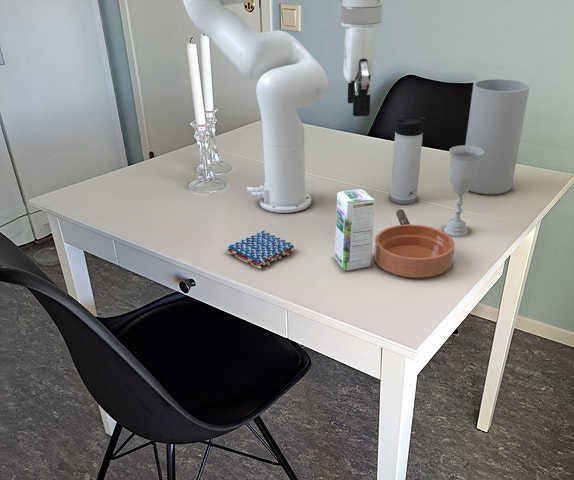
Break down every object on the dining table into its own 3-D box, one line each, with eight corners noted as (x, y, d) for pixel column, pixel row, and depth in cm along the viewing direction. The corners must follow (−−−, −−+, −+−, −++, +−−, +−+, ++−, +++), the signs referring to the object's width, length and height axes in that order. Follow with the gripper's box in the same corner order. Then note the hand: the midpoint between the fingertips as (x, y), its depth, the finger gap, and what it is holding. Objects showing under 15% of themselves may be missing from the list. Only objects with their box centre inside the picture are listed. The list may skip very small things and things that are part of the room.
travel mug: (417, 205, 145) (425, 122, 134) (389, 203, 146) (395, 121, 135) (418, 195, 150) (425, 114, 140) (391, 194, 151) (396, 113, 141)
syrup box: (333, 258, 123) (335, 191, 115) (360, 254, 124) (363, 187, 117) (344, 271, 118) (346, 202, 111) (372, 266, 120) (376, 198, 112)
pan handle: (411, 232, 126) (411, 225, 125) (402, 233, 126) (403, 225, 125) (403, 215, 134) (404, 207, 133) (395, 215, 134) (395, 208, 133)
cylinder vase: (489, 199, 146) (507, 94, 134) (449, 185, 155) (462, 84, 142) (521, 187, 153) (541, 85, 140) (481, 173, 161) (496, 76, 148)
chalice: (449, 221, 137) (459, 143, 127) (477, 229, 133) (489, 149, 124) (433, 232, 132) (442, 152, 123) (462, 241, 128) (474, 159, 119)
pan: (380, 281, 115) (381, 260, 112) (369, 244, 128) (370, 225, 125) (460, 279, 115) (463, 258, 113) (441, 242, 128) (443, 223, 126)
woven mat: (224, 254, 126) (223, 245, 125) (262, 237, 132) (262, 228, 131) (258, 271, 119) (257, 262, 118) (296, 252, 125) (296, 243, 124)
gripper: (337, 11, 120) (335, 98, 129) (346, 23, 105) (343, 121, 114) (375, 10, 120) (370, 97, 129) (389, 22, 105) (383, 120, 114)
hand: (358, 109), depth 121 cm, fingers open, 9 cm apart
